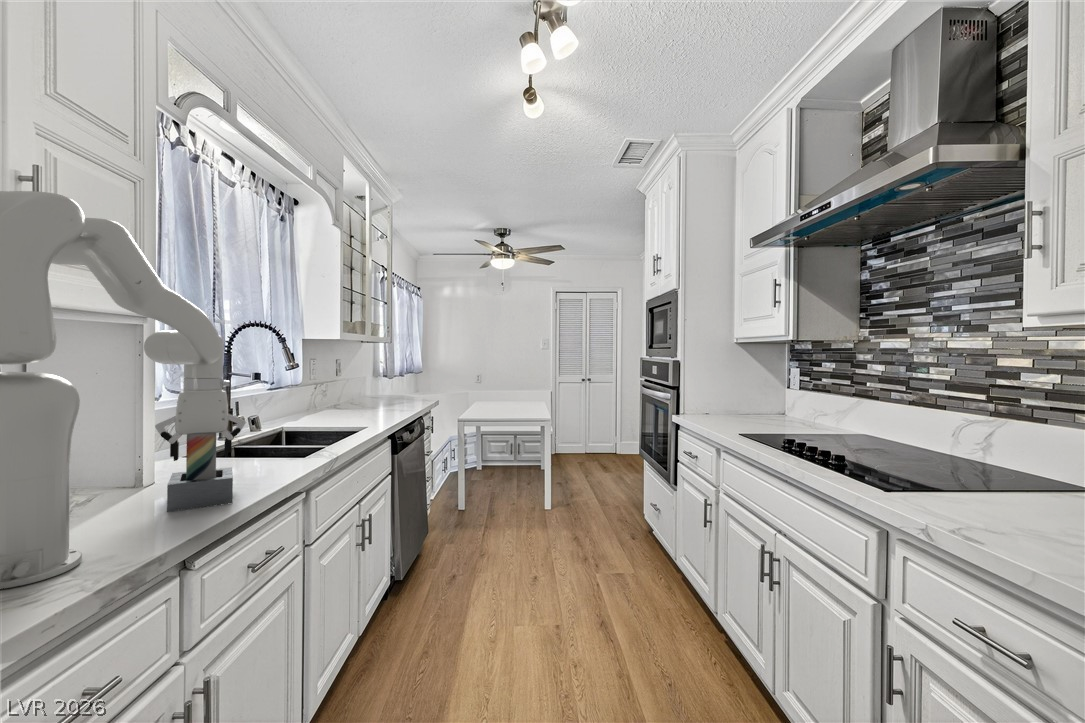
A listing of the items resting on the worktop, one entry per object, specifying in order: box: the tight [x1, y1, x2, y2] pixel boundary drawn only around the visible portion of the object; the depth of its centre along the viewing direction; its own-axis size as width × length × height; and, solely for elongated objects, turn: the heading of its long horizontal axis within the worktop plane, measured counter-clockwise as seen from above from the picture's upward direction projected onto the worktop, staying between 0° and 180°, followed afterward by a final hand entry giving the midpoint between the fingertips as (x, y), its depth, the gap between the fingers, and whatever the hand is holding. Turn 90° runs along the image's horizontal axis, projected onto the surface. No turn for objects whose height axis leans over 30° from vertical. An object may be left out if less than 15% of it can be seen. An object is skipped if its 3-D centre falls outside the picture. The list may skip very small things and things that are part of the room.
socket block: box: [166, 467, 234, 513], centre depth 112 cm, size 12×12×6 cm
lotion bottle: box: [185, 433, 217, 481], centre depth 111 cm, size 6×6×20 cm
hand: (201, 457), depth 111 cm, fingers open, 9 cm apart
